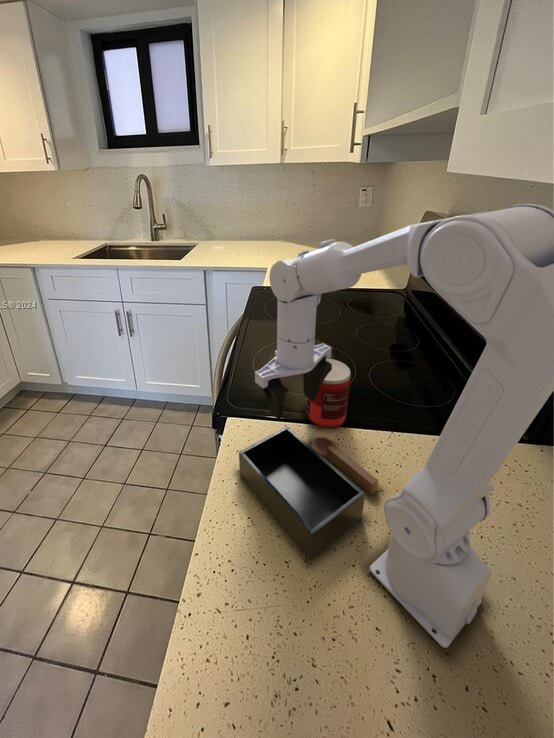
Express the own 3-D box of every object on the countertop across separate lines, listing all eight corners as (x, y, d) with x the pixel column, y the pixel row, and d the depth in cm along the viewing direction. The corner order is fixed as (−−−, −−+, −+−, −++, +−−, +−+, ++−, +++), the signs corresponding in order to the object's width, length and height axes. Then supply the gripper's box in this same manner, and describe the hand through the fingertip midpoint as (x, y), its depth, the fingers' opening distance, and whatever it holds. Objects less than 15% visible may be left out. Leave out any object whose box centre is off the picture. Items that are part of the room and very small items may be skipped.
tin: (361, 518, 51) (365, 493, 49) (310, 560, 46) (312, 534, 44) (286, 447, 63) (287, 425, 61) (239, 474, 58) (238, 452, 56)
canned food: (315, 398, 76) (318, 353, 71) (352, 413, 71) (357, 366, 66) (297, 417, 70) (300, 371, 66) (336, 435, 65) (341, 386, 61)
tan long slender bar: (382, 486, 55) (383, 476, 54) (365, 499, 53) (367, 489, 52) (322, 438, 65) (323, 429, 64) (306, 447, 63) (307, 438, 62)
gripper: (311, 313, 61) (307, 379, 66) (242, 338, 54) (244, 410, 59) (343, 328, 55) (337, 399, 60) (272, 357, 48) (271, 435, 53)
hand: (293, 406), depth 59 cm, fingers open, 7 cm apart
